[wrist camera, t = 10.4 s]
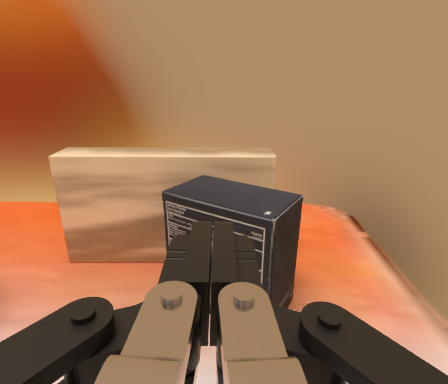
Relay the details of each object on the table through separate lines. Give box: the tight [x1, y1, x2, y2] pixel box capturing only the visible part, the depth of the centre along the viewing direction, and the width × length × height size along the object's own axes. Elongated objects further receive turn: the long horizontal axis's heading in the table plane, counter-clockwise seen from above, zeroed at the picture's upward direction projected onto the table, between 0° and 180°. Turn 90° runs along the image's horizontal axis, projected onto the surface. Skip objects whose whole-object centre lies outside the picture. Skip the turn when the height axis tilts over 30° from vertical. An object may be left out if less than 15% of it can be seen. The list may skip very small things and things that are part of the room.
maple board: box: [49, 147, 277, 263], centre depth 34 cm, size 4×22×12 cm, turn 91°
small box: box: [162, 175, 303, 313], centre depth 27 cm, size 11×6×10 cm, turn 58°
